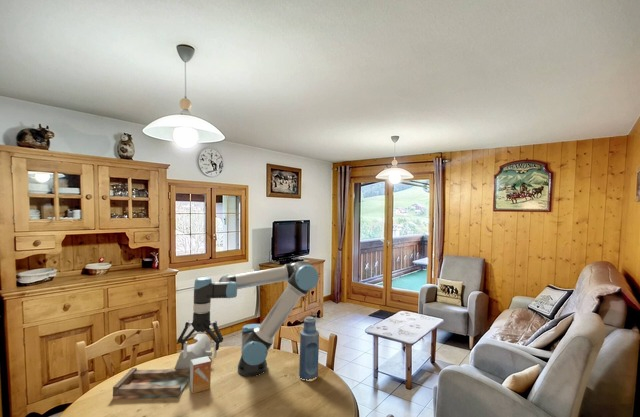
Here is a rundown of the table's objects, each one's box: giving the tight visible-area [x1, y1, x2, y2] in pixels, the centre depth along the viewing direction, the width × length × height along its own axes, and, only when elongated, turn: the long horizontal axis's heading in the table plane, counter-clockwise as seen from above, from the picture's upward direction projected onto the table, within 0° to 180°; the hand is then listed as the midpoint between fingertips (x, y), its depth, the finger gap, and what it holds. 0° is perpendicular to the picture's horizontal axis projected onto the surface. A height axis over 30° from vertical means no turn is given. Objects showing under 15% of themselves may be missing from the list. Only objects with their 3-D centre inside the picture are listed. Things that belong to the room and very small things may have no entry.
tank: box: [173, 333, 213, 369], centre depth 172 cm, size 25×16×12 cm, turn 2°
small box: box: [189, 356, 212, 394], centre depth 150 cm, size 8×6×13 cm
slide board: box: [112, 367, 190, 400], centre depth 149 cm, size 28×17×5 cm, turn 95°
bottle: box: [298, 315, 320, 380], centre depth 162 cm, size 10×10×30 cm
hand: (200, 357), depth 149 cm, fingers open, 13 cm apart
